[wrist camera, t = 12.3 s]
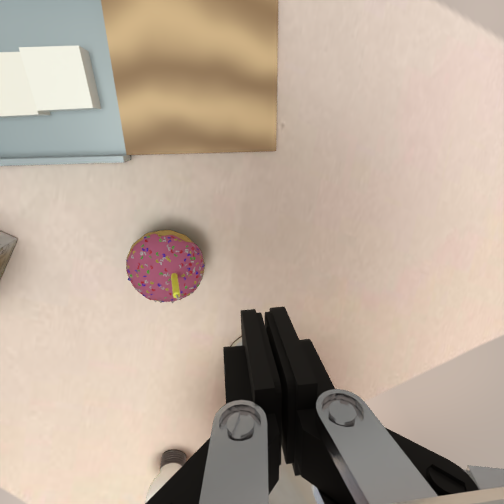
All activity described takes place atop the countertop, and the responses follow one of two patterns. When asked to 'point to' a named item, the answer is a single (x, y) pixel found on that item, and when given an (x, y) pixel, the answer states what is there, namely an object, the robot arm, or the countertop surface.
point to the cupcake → (165, 266)
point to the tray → (62, 122)
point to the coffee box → (5, 249)
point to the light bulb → (166, 470)
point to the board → (194, 74)
